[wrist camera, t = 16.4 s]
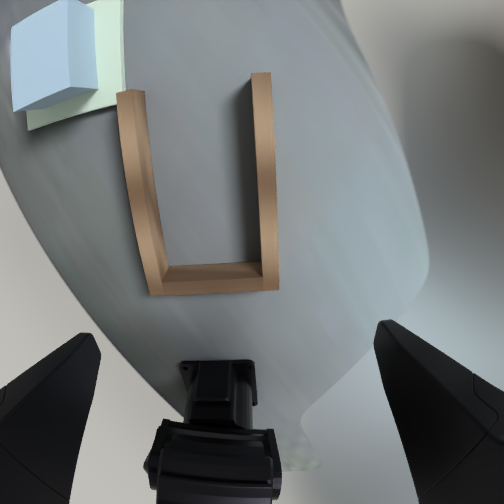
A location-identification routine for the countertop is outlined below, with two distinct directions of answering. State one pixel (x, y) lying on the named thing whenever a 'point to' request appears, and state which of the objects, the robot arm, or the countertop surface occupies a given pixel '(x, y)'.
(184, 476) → the robot arm
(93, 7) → the mat
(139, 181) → the u-shaped frame
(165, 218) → the countertop surface
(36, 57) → the block
